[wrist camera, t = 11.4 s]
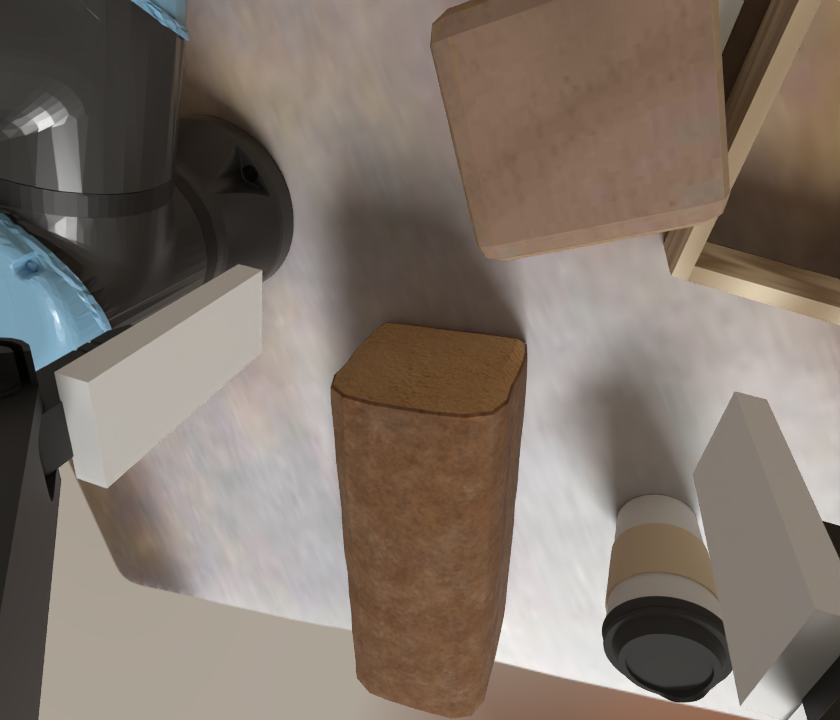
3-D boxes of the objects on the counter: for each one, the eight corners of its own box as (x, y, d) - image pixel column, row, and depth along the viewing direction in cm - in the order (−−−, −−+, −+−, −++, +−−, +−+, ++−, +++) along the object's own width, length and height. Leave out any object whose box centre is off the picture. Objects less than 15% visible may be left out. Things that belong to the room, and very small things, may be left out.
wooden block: (504, 32, 38) (415, 16, 21) (667, -23, 34) (717, -96, 17) (533, 183, 42) (477, 272, 25) (683, 149, 38) (736, 225, 21)
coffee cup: (588, 498, 54) (579, 635, 41) (687, 472, 50) (711, 616, 37) (628, 568, 56) (632, 718, 44) (726, 549, 52) (762, 709, 39)
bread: (389, 581, 68) (340, 695, 56) (377, 316, 52) (305, 396, 40) (507, 610, 64) (482, 738, 52) (534, 334, 48) (506, 428, 36)
